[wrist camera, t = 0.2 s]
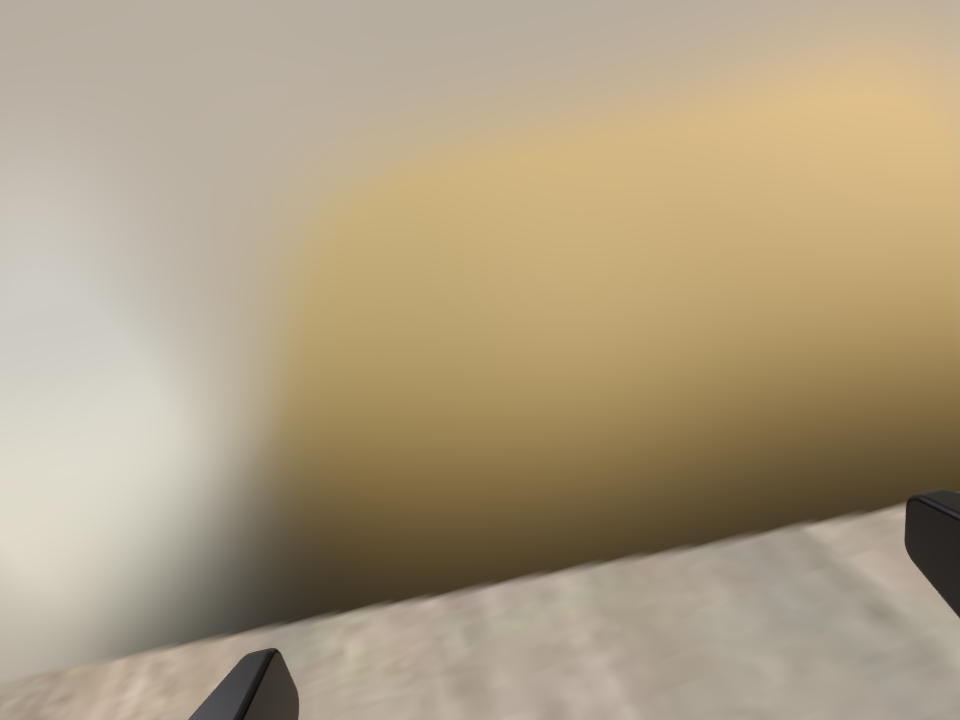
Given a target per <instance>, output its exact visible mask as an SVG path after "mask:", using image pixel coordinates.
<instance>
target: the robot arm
mask: <svg viewBox="0 0 960 720" xmlns="http://www.w3.org/2000/svg"><path fill="white" fill-rule="evenodd" d="M905 547H906V550H907V552H908V555H909V556H910V558H911V560H912V561H913V562H914V564H915V565H916V566H917V567H918V568H919V570H920V571H921V572H922V573H923V575H924V576H925V577H926V578H927V579H928V581H929V582H930V583H931V584H932V585H933V587H934V588H935V589H936V590H937V591H938V593H939V594H940V595H941V596H942V598H943V599H944V600H945V601H946V602H947V604H948V605H949V606H950V607H951V608H952V610H953V611H954V612H955V613H956V614H957V616H958V617H959V618H960V493H957V492H953V491H950V490H946V489H934V490H929V491H925V492H921V493H917V494H913V495H912V496H910V497H909V499H908V501H907V504H906V520H905ZM298 716H299V697H298V692H297V688H296V686H295V684H294V681H293V679H292V677H291V675H290V672H289V670H288V668H287V666H286V663H285V661H284V659H283V657H282V655H281V653H280V652H279V651H278V650H277V649H275V648H269V649H265V650H261V651H256V652H252V653H249V654H247V655H246V656H244V657H243V658H242V659H241V660H240V661H239V662H238V664H237V665H236V666H235V667H234V668H233V669H232V670H231V672H230V673H229V674H228V675H227V676H226V677H225V678H224V680H223V681H222V682H221V683H220V684H219V685H218V686H217V688H216V689H215V690H214V691H213V692H212V693H211V694H210V695H209V697H208V698H207V699H206V700H205V701H204V702H203V703H202V705H201V706H200V707H199V708H198V709H197V710H196V711H195V713H194V714H193V715H192V716H191V717H190V718H189V719H188V720H298Z"/></svg>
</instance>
